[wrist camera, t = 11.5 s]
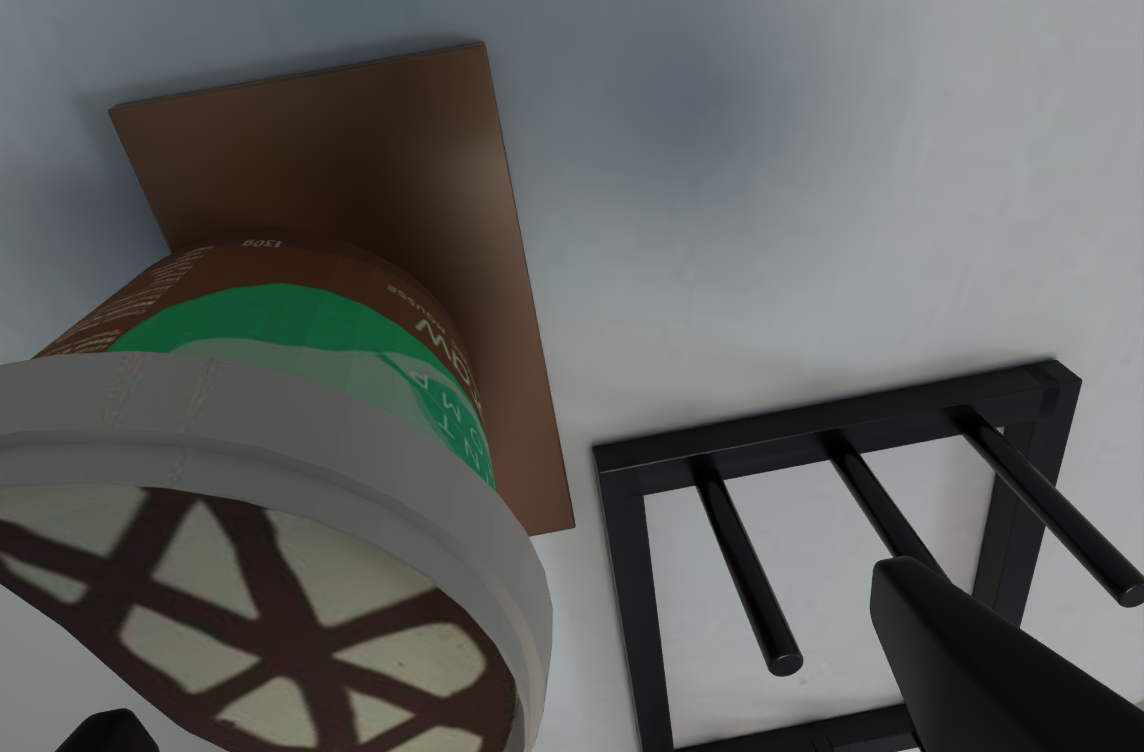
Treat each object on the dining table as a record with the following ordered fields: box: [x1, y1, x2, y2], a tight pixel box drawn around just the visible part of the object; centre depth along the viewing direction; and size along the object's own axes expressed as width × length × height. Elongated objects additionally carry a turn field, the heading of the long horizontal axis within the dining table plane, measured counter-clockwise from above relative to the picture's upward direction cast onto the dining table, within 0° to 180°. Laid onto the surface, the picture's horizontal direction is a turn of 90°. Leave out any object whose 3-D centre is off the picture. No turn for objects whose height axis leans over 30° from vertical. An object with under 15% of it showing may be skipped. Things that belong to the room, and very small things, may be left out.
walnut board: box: [108, 42, 576, 537], centre depth 20 cm, size 8×14×1 cm, turn 8°
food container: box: [0, 231, 553, 752], centre depth 16 cm, size 12×6×10 cm, turn 30°
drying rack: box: [593, 360, 1144, 752], centre depth 25 cm, size 14×17×8 cm
